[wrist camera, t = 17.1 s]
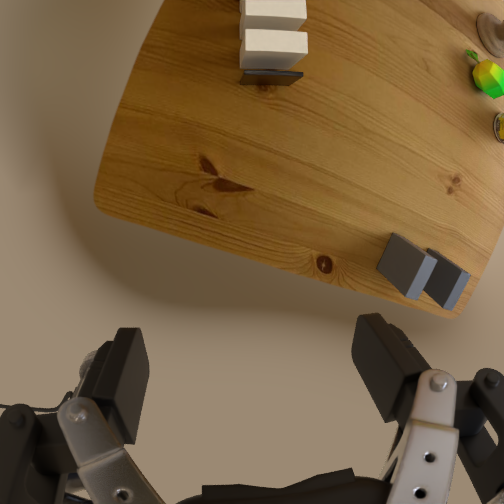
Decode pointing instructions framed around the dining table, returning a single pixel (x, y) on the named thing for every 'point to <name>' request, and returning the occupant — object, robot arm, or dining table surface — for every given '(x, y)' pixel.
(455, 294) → the grey books
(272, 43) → the cream book
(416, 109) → the dining table surface
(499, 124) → the supplement bottle
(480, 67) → the apple
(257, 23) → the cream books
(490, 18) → the candle holder
